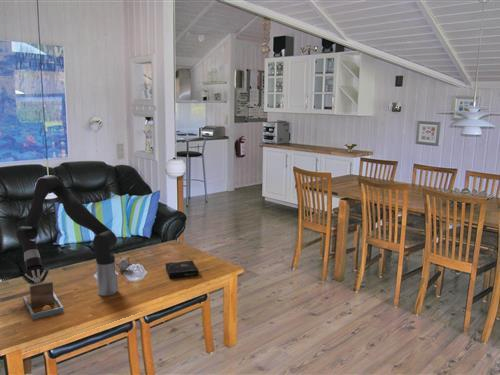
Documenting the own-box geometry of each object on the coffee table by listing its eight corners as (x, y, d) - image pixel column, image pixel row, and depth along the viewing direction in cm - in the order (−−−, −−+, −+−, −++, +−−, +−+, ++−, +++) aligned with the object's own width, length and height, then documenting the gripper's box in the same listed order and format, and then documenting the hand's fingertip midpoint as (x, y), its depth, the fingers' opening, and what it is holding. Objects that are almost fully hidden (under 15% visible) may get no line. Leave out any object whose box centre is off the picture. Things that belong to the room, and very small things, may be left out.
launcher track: (23, 299, 227) (23, 296, 226) (52, 292, 234) (52, 290, 234) (28, 311, 214) (28, 308, 213) (59, 304, 221) (59, 301, 221)
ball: (52, 308, 215) (53, 307, 212) (47, 316, 213) (48, 314, 209) (45, 304, 214) (46, 302, 211) (39, 311, 212) (40, 310, 209)
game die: (125, 277, 264) (121, 269, 257) (115, 270, 268) (111, 261, 260) (136, 267, 269) (132, 258, 261) (126, 260, 272) (123, 251, 265)
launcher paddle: (31, 305, 219) (29, 284, 217) (52, 300, 225) (51, 280, 222) (32, 308, 217) (30, 286, 214) (54, 302, 222) (52, 282, 220)
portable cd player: (192, 266, 275) (192, 260, 274) (197, 276, 259) (197, 270, 258) (165, 269, 269) (165, 262, 269) (169, 279, 254) (169, 273, 253)
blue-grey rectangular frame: (28, 310, 215) (28, 305, 214) (58, 303, 222) (58, 298, 222) (32, 319, 206) (32, 314, 205) (63, 312, 213) (63, 307, 213)
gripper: (19, 259, 227) (24, 290, 219) (46, 254, 234) (53, 284, 227) (18, 265, 232) (24, 296, 225) (45, 260, 239) (52, 290, 232)
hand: (38, 290), depth 226 cm, fingers closed
